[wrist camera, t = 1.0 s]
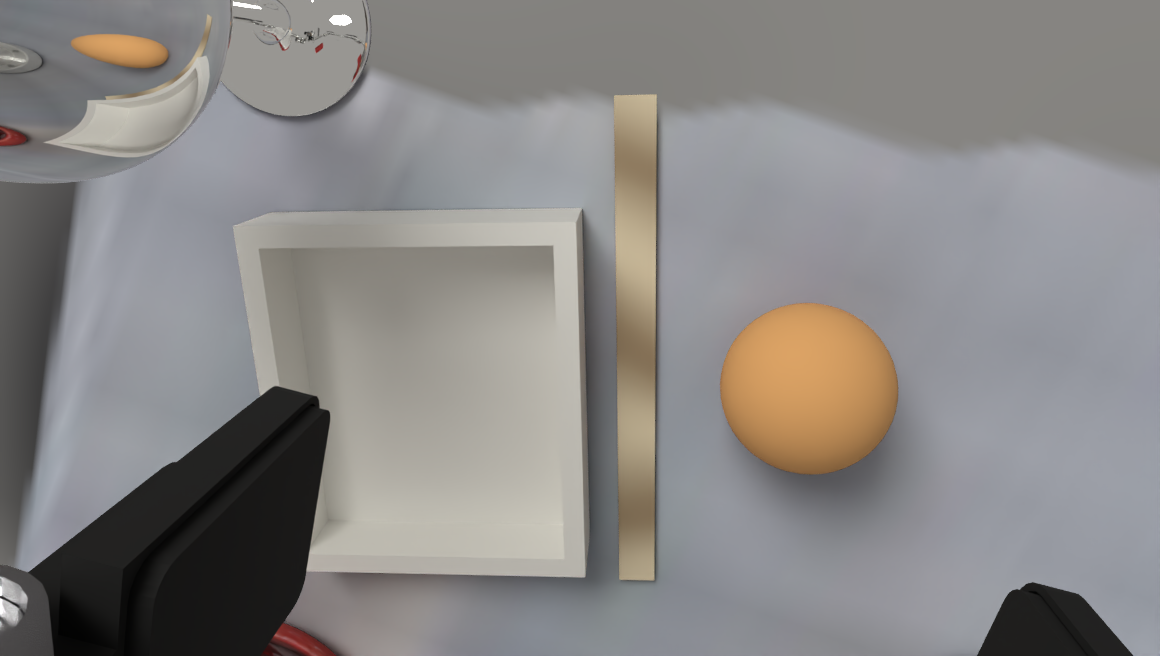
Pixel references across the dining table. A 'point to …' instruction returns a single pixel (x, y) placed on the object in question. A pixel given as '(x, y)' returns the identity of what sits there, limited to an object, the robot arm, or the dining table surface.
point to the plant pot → (295, 644)
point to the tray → (433, 382)
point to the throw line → (636, 329)
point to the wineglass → (158, 73)
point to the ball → (809, 388)
